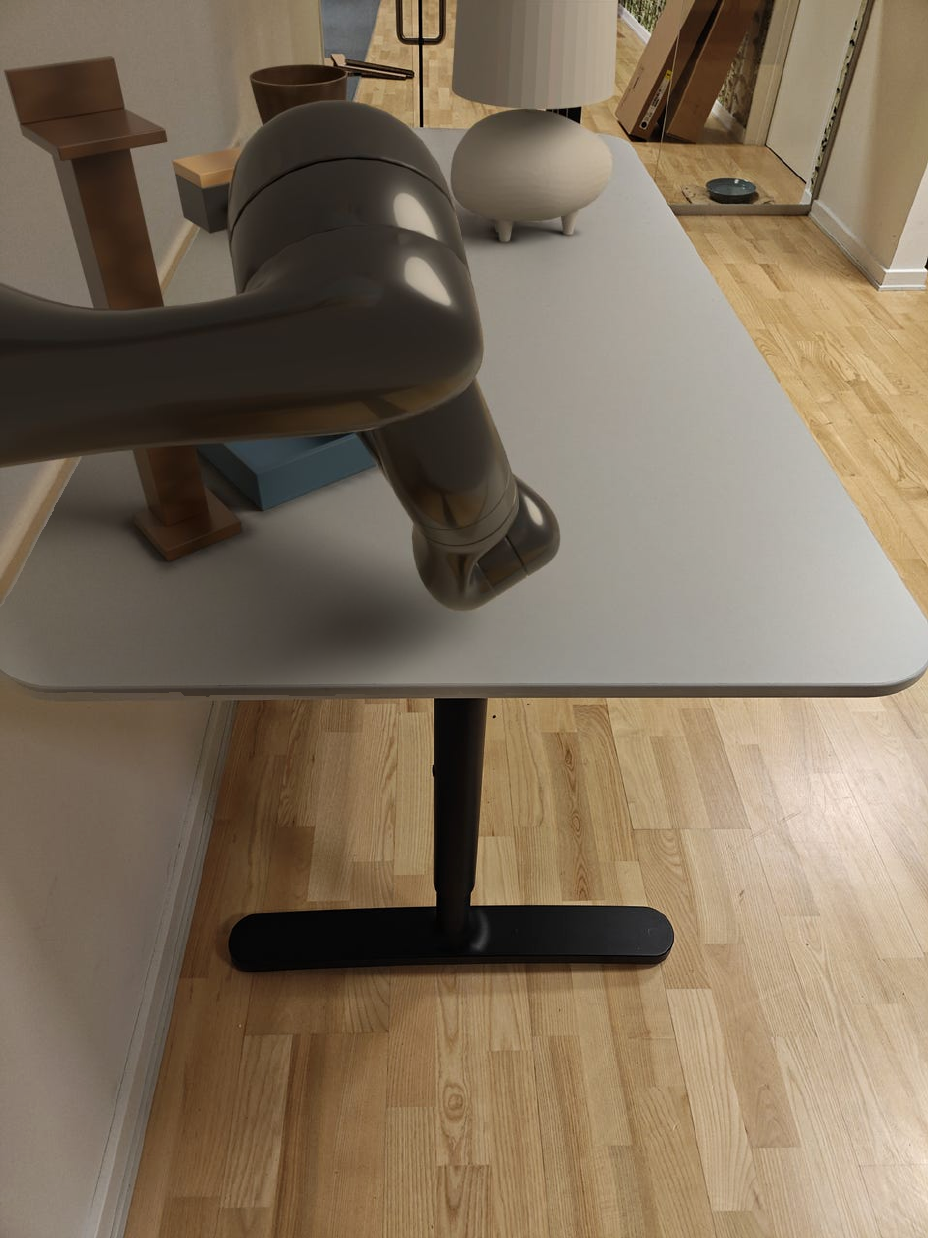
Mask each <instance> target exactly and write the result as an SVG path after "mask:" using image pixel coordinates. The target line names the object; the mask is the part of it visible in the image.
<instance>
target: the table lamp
mask: <svg viewBox="0 0 928 1238" xmlns="http://www.w3.org/2000/svg"><path fill="white" fill-rule="evenodd" d="M618 7H619V0H456V9H455V27H454V41H453V58H452V74H451V75H452V76H451V91H452V92H453V94H454V95H456V96H458V97H459V98H461V99H463V100H466V101H469V102H472V103H477V104H481V105H485V106H486V105H487V106H491V107H500V108H509V109H508V110H503V111H499V112H496V113H493V114H490V115H488V116H485V117H484V118H483V117H482V119H480V120H478V121H477V122H475V123H474V124H472V126H471V127H470V128H468V130H467V131H466V132H465V134H464V135H462V138H461V139H460V141H459V143H458V144H457V146H456V148H455V150H454V152H453V156H452V160H451V166H450V178H449V179H450V180H449V181H450V188H451V192H452V195H453V196H454V199H455V201H456V202H457V203H458V204H459V205H460V206H461V207H462V208H463V209H465V210H466V211H467V212H469V213H471V214H472V215H475V216H476V217H480V218H484V219H487V220H493V221H494V227H495V232H496V233H498V238H499V242H503V243H506V242H510V241H511V236H512V231H513V227H514V226H513V225H514V222H524V223H525V222H526V223H527V222H543V221H550V220H554V219H557V218H560V220H561V228H562V234H563V235H566V236H570V235H571V236H572V235H574V230H575V227H576V222H577V219H578V214H579V210H582V209H584V208H586V207H587V206H589V205H591V204H592V203H593V202H595V201H596V200H597V199H598V198H599V197H600V196H601V195H602V194H603V193H604V191H605V190H606V189H607V187H608V184H609V181H610V179H611V176H612V171H613V155H612V152H611V150H610V148H609V147H608V144H607V143H606V142H605V141H604V140H603V139H602V138H601V137H600V136H599V135H597V133H595V132H593V131H592V130H591V129H589V128H587V127H586V126H584V125H582V124H581V123H578V122H576V121H574V120H572V119H571V118H568V117H566V116H564V115H561V114H560V113H559V114H558V113H556V112H553V111H549V110H559V109H560V110H561V109H571V108H579V107H585V106H590V105H595V104H598V103H599V104H600V103H601V102H604V101H607V100H609V99H611V98H612V97H613V96H614V94H615V87H616V86H615V85H616V62H617V61H616V60H617V37H618V36H617V34H618V33H617V32H618V12H619V11H618V9H619V8H618Z"/></svg>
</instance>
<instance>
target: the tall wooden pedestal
mask: <svg viewBox="0 0 928 1238" xmlns="http://www.w3.org/2000/svg"><path fill="white" fill-rule="evenodd" d="M3 73H4V76H5V80H6V83H7V87H8V90H9V94H10V97H11V101H12V104H13V107H14V110H15V111H14V112H15V114H16V117H17V121H18V123H19V128H20V131H21V134H22V136H23V137H24V138H26V139H27V140H29V141H30V142H31V143H33V144H35V145H36V146H38V147H40V148H41V149H42V150H44V151H45V152H47V153H49V154H50V155H51V157H52V161H53V165H54V169H55V172H56V176H57V179H58V184H59V186H60V190H61V193H62V198H63V201H64V205H65V208H66V213H67V216H68V220H69V223H70V226H71V230H72V234H73V237H74V238H73V239H74V242H75V246H76V249H77V253H78V256H79V260H80V263H81V267H82V270H83V275H84V278H85V282H86V286H87V289H88V292H89V296H90V300H91V303H92V308H95V309H123V310H124V309H137V308H149V307H162V306H165V302H164V298H163V293H162V290H161V289H162V288H161V285H160V281H159V275H158V271H157V266H156V261H155V257H154V253H153V252H154V251H153V247H152V244H151V239H150V234H149V230H148V229H149V228H148V226H147V221H146V216H145V212H144V206H143V202H142V197H141V194H140V188H139V185H138V180H137V175H136V171H135V167H134V161H133V155H132V152H131V149H136V148H137V149H138V148H142V147H147V146H153V145H159V144H164V143H168V135H167V131H166V129H165V128H164V127H162V126H160V125H158V124H157V123H154V122H152V121H150V120H149V119H146V118H144V117H143V116H140V115H138V114H137V113H135V112H133V111H131V110H128V109H127V108H126V106H125V101H124V96H123V92H122V87H121V83H120V78H119V74H118V68H117V64H116V59H115V57H113V56H111V55H109V56H108V55H107V56H101V57H93V58H85V59H84V58H83V59H78V60H71V61H70V60H69V61H62V62H55V63H54V62H53V63H47V64H46V63H45V64H37V65H32V66H31V65H30V66H24V67H16V68H9V69H8V68H7V69H4V70H3ZM132 454H133V458H134V461H135V466H136V469H137V472H138V475H139V479H140V483H141V487H142V490H143V494H144V498H145V503H146V505H147V506H145V507H143V508H139V509H137V510H135V511H131V515H132V519H133V522H134V524H135V525H136V527H137V528H138V529H139V530H140V531H141V532H142V533H143V535H144V536H145V537H146V539H148V541H149V542H150V543H151V544H152V545H153V546H154V547H155V548H156V549H157V551H158V552H159V553H160V554H161V556H163V558H165V560H166V561H167V562H168V563H170V562H172V561H174V560H177V559H180V558H182V557H184V556H187V555H190V554H191V553H192V554H193V553H194V552H197V551H199V550H202V549H203V548H204V549H205V548H206V547H210V546H211V545H214V544H216V543H219V542H221V541H224V540H226V539H229V538H230V537H234V536H236V535H238V534H241V533H243V532H244V530H243V529H244V528H243V525H242V520H241V519H240V518H239V517H238V516H236V515H235V513H233V511H232V510H231V509H230V508H228V507H227V505H225V504H224V503H223V502H222V501H221V500H220V499H219V497H217V496H216V495H215V494H214V493H213V492H212V491H211V490H210V489H209V488H208V487H207V486H206V485H205V484H204V480H203V476H202V471H201V466H200V462H199V458H198V453H197V449H196V448H195V445H188V446H175V447H162V448H150V449H138V450H132Z"/></svg>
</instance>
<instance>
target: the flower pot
mask: <svg viewBox="0 0 928 1238" xmlns="http://www.w3.org/2000/svg"><path fill="white" fill-rule="evenodd" d="M249 81H250V84H251V88H252V92H253V96H254V101H255V104H256V108H257V111H258V114H259V117H260V121H261V123H262V126H263V125H264V124H265V123H267V122H268V121H270V120H271V119H272V118H274V117H275V116H277V115H278V114H280V113H282V112H284V111H286V110H288V109H291V108H293V107H296V106H300V105H304V104H308V103H313V102H317V101H327V100H346V101H347V90H348V72H347V71H346V70H345V69H343V68H340V67H338V66H333V65H327V64H317V63H316V64H315V63H314V64H312V63H303V64H301V63H298V64H285V65H276V66H270V67H265V68H261V69H258V70H255V71H253V72H251V73H250V74H249Z"/></svg>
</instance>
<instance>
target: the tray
mask: <svg viewBox="0 0 928 1238" xmlns="http://www.w3.org/2000/svg"><path fill="white" fill-rule="evenodd" d="M195 448H196V450H197V451H199V452H200V453H201V455H203V456H204V458H206V459H207V460H208V461H209V462H210V463H211V464H212V465H213V466H214V467H215V468H217V470H218V471H220V472H221V473H222V474H223V475H224V476H225V477H226V478H227V479H228V480H229V481H230V482H231V483H232V484H234V486H236V487H237V488H238V489H239V490H240V491H241V492H242V493H243V494H244V495H245V496H247V498H248V499H249V500H251V502H253V503H254V504H255V505H256V506H257V507H258V508H259V509H260V510H261V511H262V512H263V511H266V510H268V509H271V508H273V507H276V506H279V505H281V504H283V503H286V502H288V501H291V500H294V499H296V498H298V497H301V496H304V495H306V494H308V493H311V492H313V491H317V490H319V489H322V488H324V487H326V486H328V485H331V484H335V483H336V482H338V481H339V482H340V481H341V480H343V479H347V478H349V477H351V476H353V475H356V474H358V473H359V474H360V473H361V472H363V471H366V470H369V469H371V468H373V467H377V465H376V464H375V462H374V460H373V459H372V457H371V456H370V454H369V453H368V451H367V450H366V448H365V447H364V445H363V443H362V442H361V440H360V439H359V438H358V436H357V435H356V434H355V433H354V432H350V433H342V434H334V435H323V436H311V437H299V438H287V439H273V440H259V441H244V442H230V443H216V444H201V445H195Z"/></svg>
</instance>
